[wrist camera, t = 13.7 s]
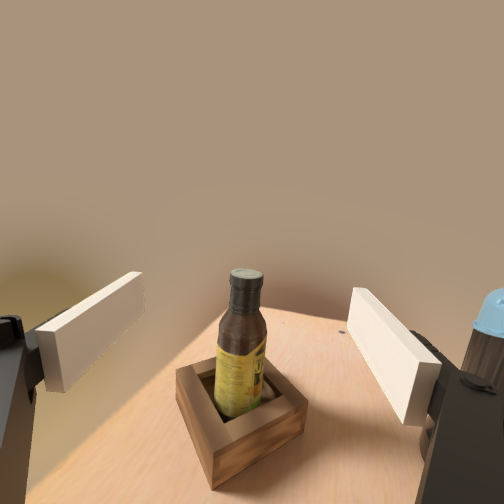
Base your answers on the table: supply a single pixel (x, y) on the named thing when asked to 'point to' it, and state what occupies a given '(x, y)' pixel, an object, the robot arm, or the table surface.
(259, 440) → the crate
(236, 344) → the sauce bottle
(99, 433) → the table surface
